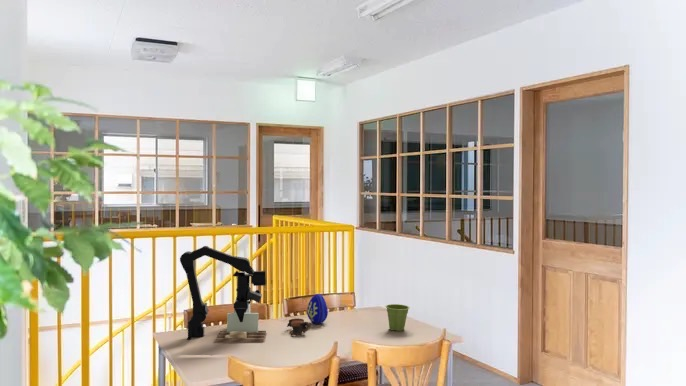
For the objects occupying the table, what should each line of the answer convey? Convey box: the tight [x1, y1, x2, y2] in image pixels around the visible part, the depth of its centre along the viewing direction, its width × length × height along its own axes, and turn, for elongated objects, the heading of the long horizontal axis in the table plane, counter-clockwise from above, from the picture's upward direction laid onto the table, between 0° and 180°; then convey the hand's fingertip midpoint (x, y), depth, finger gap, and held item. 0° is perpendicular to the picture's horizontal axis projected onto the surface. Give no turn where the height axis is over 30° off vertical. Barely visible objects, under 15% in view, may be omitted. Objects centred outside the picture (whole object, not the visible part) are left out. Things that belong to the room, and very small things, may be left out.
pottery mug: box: [286, 317, 311, 337], centre depth 254 cm, size 12×10×8 cm
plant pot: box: [385, 303, 410, 332], centre depth 264 cm, size 12×12×11 cm
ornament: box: [306, 293, 329, 325], centre depth 274 cm, size 11×9×15 cm
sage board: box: [226, 312, 259, 332], centre depth 246 cm, size 14×2×10 cm, turn 94°
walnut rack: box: [213, 330, 268, 343], centre depth 242 cm, size 22×15×2 cm
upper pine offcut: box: [230, 331, 247, 337], centre depth 237 cm, size 7×3×2 cm, turn 94°
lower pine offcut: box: [225, 335, 247, 338], centre depth 237 cm, size 9×3×2 cm, turn 94°
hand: (242, 319), depth 246 cm, fingers open, 9 cm apart
